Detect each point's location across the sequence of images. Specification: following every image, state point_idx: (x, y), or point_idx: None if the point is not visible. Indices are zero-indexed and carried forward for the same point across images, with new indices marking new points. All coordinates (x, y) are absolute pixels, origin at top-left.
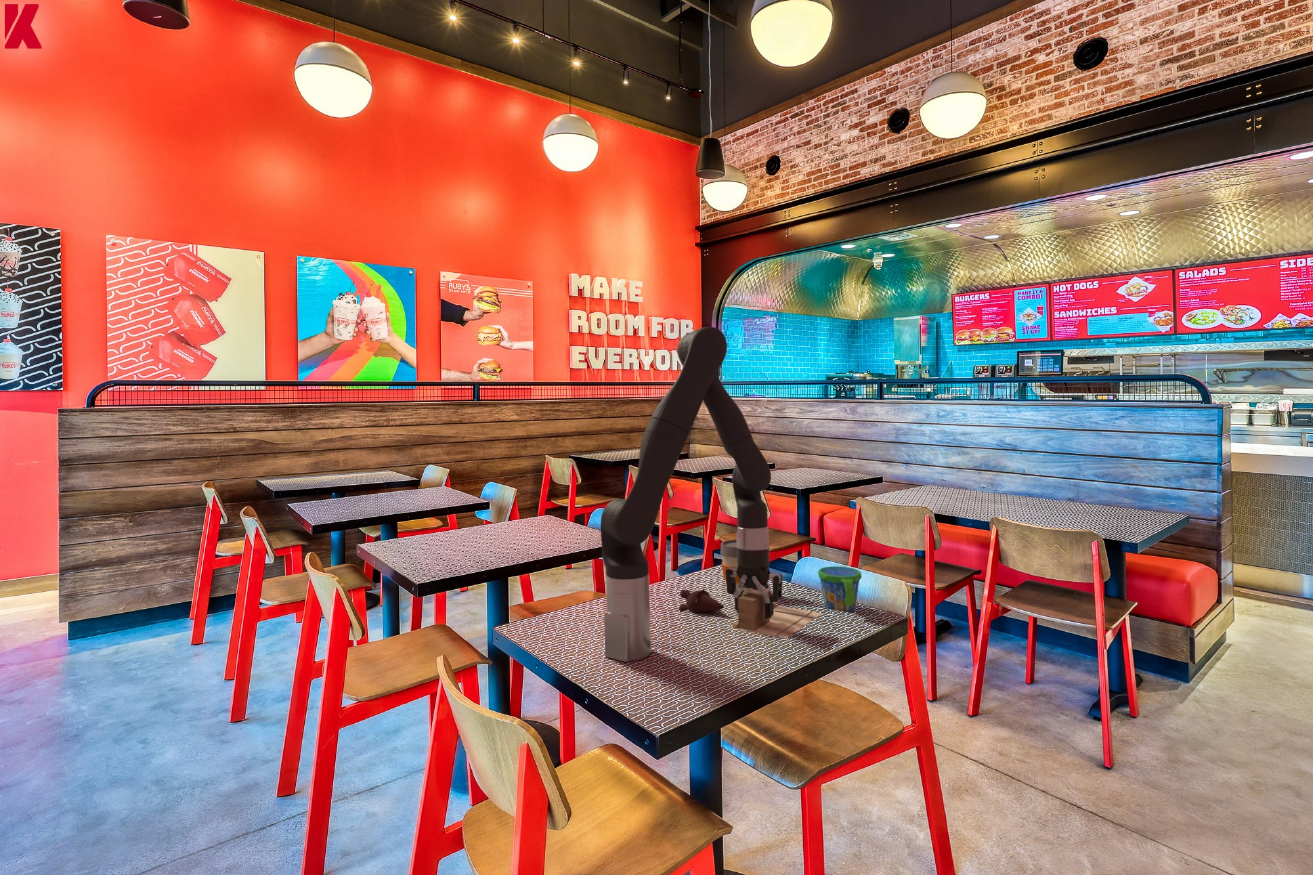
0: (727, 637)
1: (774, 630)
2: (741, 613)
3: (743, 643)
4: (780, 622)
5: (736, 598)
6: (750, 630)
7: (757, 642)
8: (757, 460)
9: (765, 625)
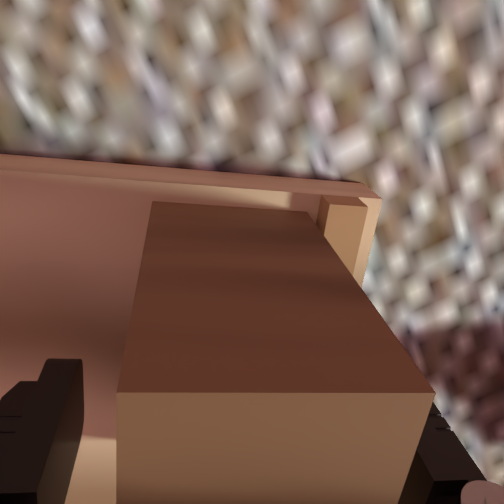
0: (355, 89)
1: (3, 296)
2: (308, 271)
3: (174, 5)
4: None
5: (465, 476)
6: (187, 202)
7: (77, 91)
8: None
9: None
